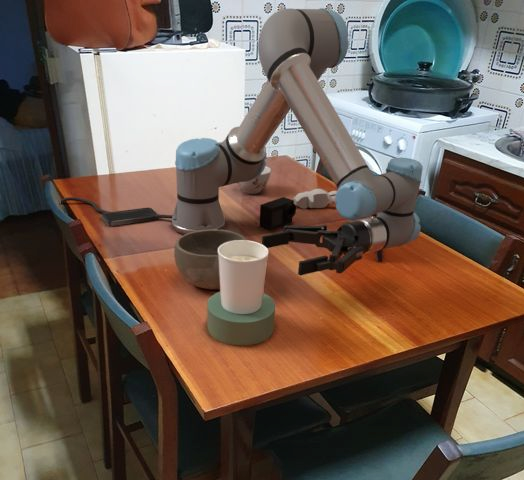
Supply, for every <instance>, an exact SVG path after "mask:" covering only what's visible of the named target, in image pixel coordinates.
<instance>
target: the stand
mask: <svg viewBox="0 0 524 480" xmlns="http://www.w3.org/2000/svg"><path fill="white" fill-rule="evenodd" d="M206 312H207V313H206V328H207V331H208V333H209V335H210V336H211V337H212V338H214V339H215V340H216V341H218V342H221V343H224V344H226V345H231V346H240V347H241V346H243V347H244V346H253V345H257V344H260V343H263V342H265V341H267V340H268V339H270V338H271V336H272V335H273V333H274V331H275V319H276V318H275V317H276V302H275V301H274V299H273V298H272V297H271V296H270V295H268V294H266V293H264V292H263V299H262V305H261V308H260V309H259V310H258V311H256V312H254V313H250V314H235V313H231V312H228V311H227V310H225V309H224V308H223V307H222V304H221V295H220V291H218V292H215V293H213V294H212V295H211V296H210V297H209V298H208V300H207V303H206Z"/></svg>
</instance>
